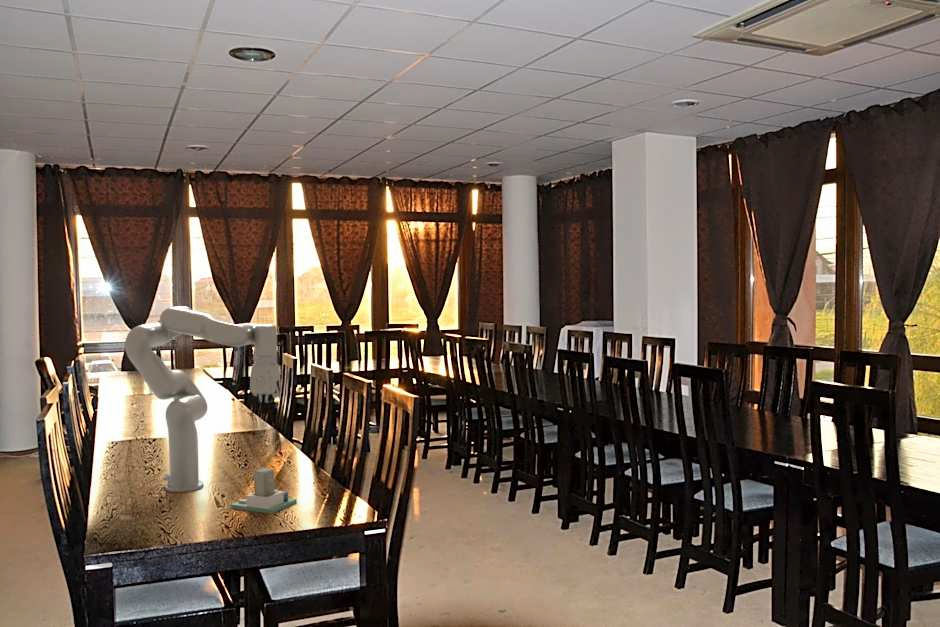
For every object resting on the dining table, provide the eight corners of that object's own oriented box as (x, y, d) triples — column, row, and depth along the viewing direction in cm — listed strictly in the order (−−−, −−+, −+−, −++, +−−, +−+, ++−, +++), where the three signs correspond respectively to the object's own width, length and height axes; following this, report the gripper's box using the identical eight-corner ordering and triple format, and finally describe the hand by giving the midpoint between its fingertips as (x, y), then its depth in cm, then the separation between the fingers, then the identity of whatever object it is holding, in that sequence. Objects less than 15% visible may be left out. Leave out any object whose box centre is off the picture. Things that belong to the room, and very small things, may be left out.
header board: (230, 508, 260) (230, 496, 259) (256, 497, 271) (256, 486, 271) (272, 513, 253) (271, 502, 253) (296, 502, 265) (296, 491, 265)
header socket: (246, 506, 258) (246, 495, 257) (264, 498, 266) (263, 488, 265) (267, 509, 254) (267, 498, 254) (284, 501, 262) (284, 490, 262)
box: (266, 500, 263) (265, 467, 262) (275, 503, 261) (275, 468, 260) (253, 504, 259) (253, 470, 258) (263, 507, 256) (262, 472, 256)
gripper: (241, 360, 278) (241, 413, 279) (276, 362, 271) (276, 417, 272) (255, 358, 284) (256, 410, 285) (290, 360, 278) (290, 413, 279)
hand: (266, 413), depth 279 cm, fingers closed
